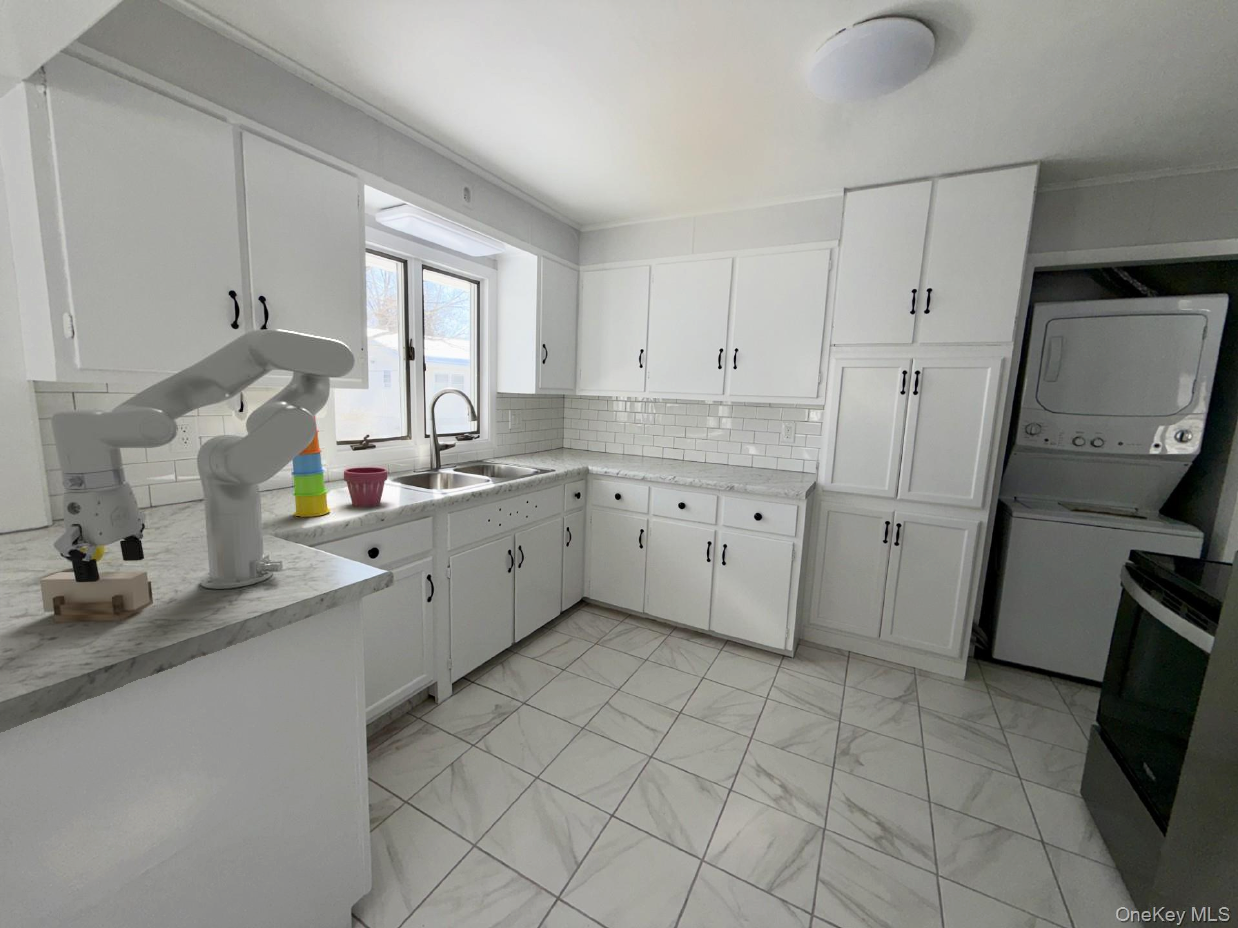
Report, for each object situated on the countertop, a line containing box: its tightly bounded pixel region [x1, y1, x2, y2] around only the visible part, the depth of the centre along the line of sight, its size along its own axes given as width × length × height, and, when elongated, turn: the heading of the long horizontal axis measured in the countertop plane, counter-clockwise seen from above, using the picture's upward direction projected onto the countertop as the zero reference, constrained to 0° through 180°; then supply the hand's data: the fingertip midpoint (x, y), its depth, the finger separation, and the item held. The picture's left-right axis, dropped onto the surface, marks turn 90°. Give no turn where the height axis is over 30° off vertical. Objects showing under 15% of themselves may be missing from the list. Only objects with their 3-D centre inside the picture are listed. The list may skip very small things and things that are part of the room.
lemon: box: [81, 546, 106, 562], centre depth 109 cm, size 6×6×8 cm
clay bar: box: [39, 570, 150, 613], centre depth 89 cm, size 14×4×6 cm, turn 99°
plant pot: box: [343, 466, 388, 508], centre depth 178 cm, size 14×14×13 cm
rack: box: [52, 580, 154, 623], centre depth 89 cm, size 10×7×4 cm
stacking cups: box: [291, 415, 331, 518], centre depth 160 cm, size 10×10×35 cm
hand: (112, 570), depth 90 cm, fingers open, 9 cm apart
